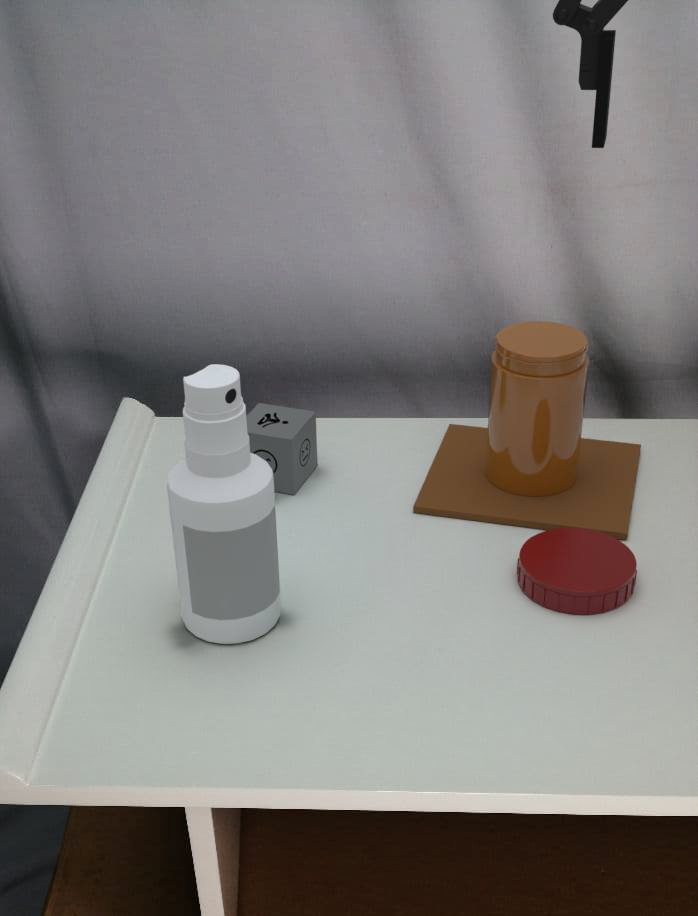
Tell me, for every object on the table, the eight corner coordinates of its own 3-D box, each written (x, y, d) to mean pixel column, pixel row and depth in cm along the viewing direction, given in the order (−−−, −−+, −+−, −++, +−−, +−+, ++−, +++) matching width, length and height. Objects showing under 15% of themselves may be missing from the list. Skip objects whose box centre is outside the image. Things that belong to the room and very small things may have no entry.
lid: (513, 547, 86) (515, 525, 85) (626, 550, 85) (629, 528, 84) (520, 613, 79) (521, 590, 78) (641, 617, 78) (645, 593, 77)
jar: (581, 457, 96) (596, 323, 89) (571, 501, 90) (585, 362, 83) (493, 447, 98) (501, 315, 91) (477, 490, 92) (484, 353, 85)
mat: (640, 450, 97) (641, 444, 97) (626, 540, 86) (627, 533, 86) (449, 429, 102) (449, 423, 101) (413, 512, 91) (413, 506, 90)
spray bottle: (230, 659, 76) (208, 412, 67) (161, 618, 81) (131, 379, 71) (302, 612, 80) (291, 372, 71) (233, 575, 85) (214, 343, 75)
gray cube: (262, 456, 99) (259, 402, 96) (317, 465, 97) (315, 411, 95) (237, 484, 95) (233, 430, 93) (294, 495, 94) (291, 439, 91)
